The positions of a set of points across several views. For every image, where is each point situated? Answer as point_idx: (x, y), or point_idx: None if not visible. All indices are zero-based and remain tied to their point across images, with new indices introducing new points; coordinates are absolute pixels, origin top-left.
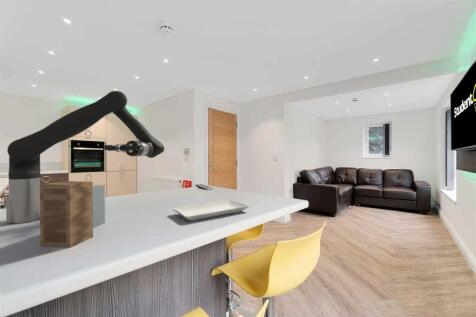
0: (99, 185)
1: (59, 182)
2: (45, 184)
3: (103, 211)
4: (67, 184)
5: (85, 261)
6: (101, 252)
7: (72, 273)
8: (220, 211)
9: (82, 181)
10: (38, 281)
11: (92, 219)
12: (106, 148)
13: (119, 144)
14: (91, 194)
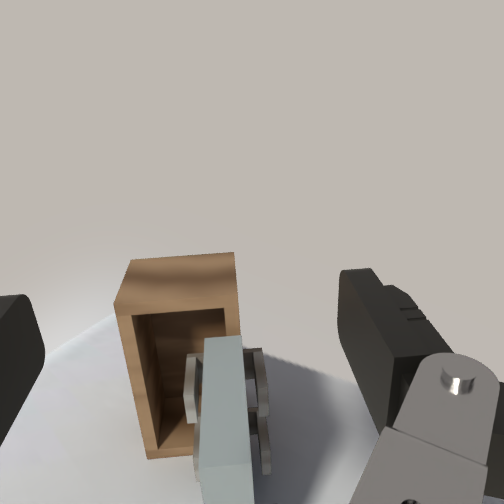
0: (219, 448)
1: (216, 275)
2: (214, 254)
3: None
4: (143, 261)
5: (74, 369)
6: (61, 398)
7: (72, 344)
8: None
9: (155, 298)
10: (110, 326)
11: (138, 415)
12: (343, 324)
13: (355, 496)
14: (123, 342)
